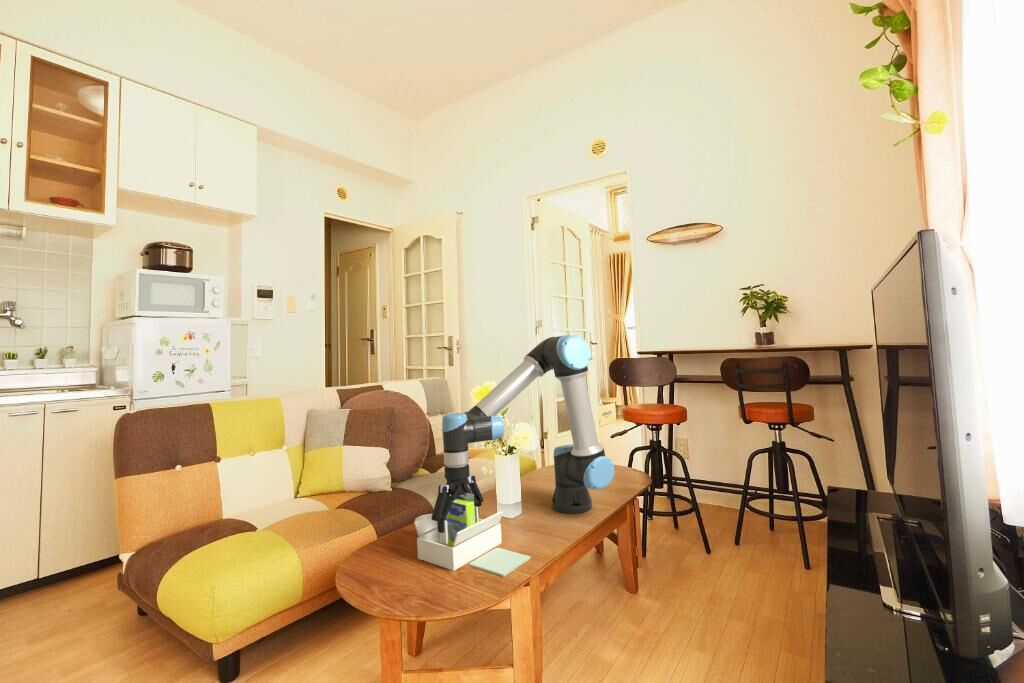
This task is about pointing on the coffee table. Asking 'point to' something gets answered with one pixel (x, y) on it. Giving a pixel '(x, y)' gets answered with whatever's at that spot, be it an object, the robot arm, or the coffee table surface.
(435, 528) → the candle
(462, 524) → the box
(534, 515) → the coffee table surface
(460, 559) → the white open carton
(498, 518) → the flap near
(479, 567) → the mat
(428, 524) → the flap far
